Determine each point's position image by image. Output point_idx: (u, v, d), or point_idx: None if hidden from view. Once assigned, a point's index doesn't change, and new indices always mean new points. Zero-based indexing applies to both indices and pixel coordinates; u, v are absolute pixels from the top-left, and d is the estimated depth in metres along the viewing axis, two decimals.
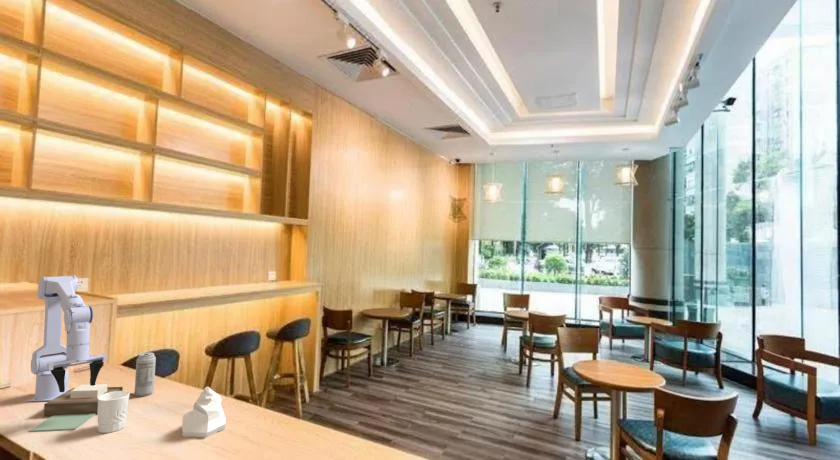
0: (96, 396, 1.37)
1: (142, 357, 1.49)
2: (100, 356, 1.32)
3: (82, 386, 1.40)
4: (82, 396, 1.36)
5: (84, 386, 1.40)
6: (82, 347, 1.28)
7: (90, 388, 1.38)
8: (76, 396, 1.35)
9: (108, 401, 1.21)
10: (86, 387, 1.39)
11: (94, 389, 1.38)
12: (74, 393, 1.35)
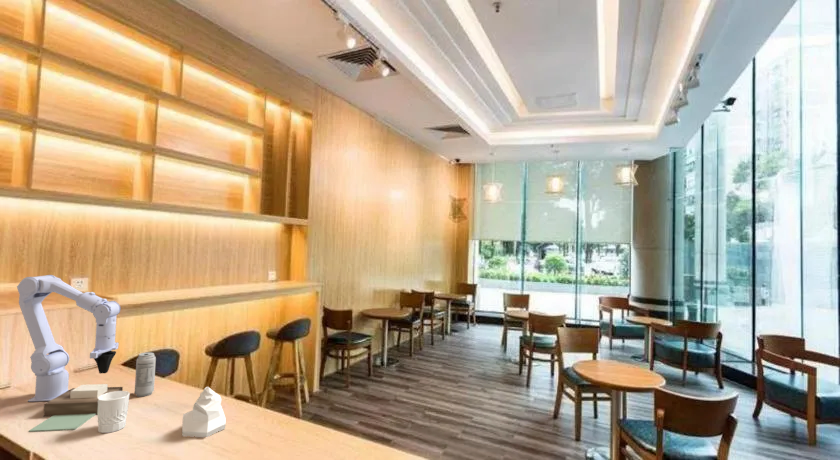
0: (96, 396, 1.37)
1: (142, 357, 1.49)
2: (116, 344, 1.53)
3: (82, 386, 1.40)
4: (82, 396, 1.36)
5: (84, 386, 1.40)
6: (114, 337, 1.48)
7: (90, 388, 1.38)
8: (76, 396, 1.35)
9: (108, 401, 1.21)
10: (86, 387, 1.39)
11: (94, 389, 1.38)
12: (74, 393, 1.35)
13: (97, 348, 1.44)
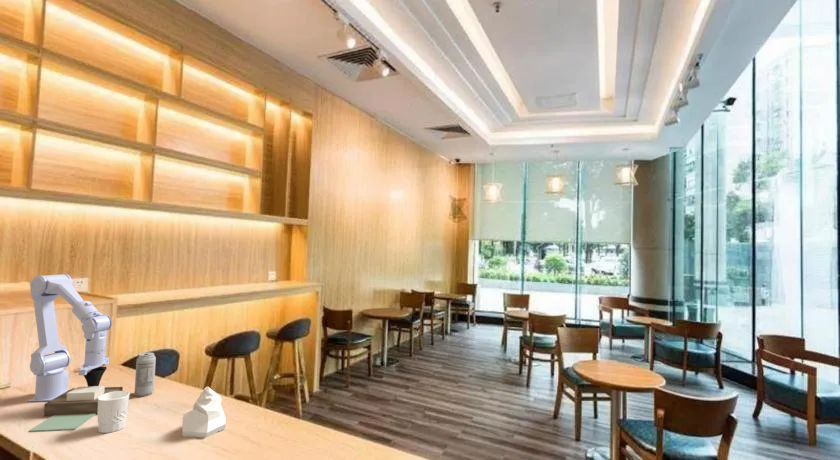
0: (93, 398, 1.35)
1: (142, 357, 1.49)
2: (107, 359, 1.47)
3: (78, 388, 1.38)
4: (79, 398, 1.34)
5: (81, 388, 1.38)
6: (105, 352, 1.42)
7: (87, 390, 1.36)
8: (72, 398, 1.34)
9: (108, 401, 1.21)
10: (83, 389, 1.37)
11: (91, 391, 1.36)
12: (70, 395, 1.33)
13: (86, 364, 1.38)
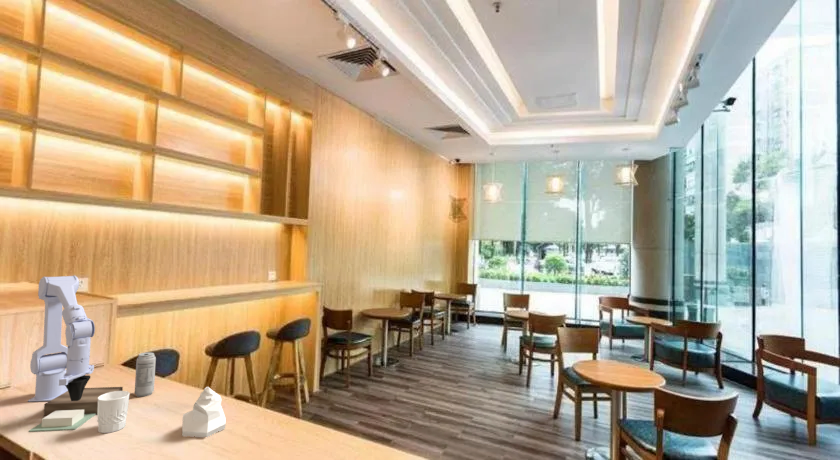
0: None
1: (142, 357, 1.49)
2: (91, 367, 1.38)
3: None
4: None
5: None
6: (88, 360, 1.33)
7: None
8: None
9: (108, 401, 1.21)
10: None
11: None
12: None
13: (68, 373, 1.29)
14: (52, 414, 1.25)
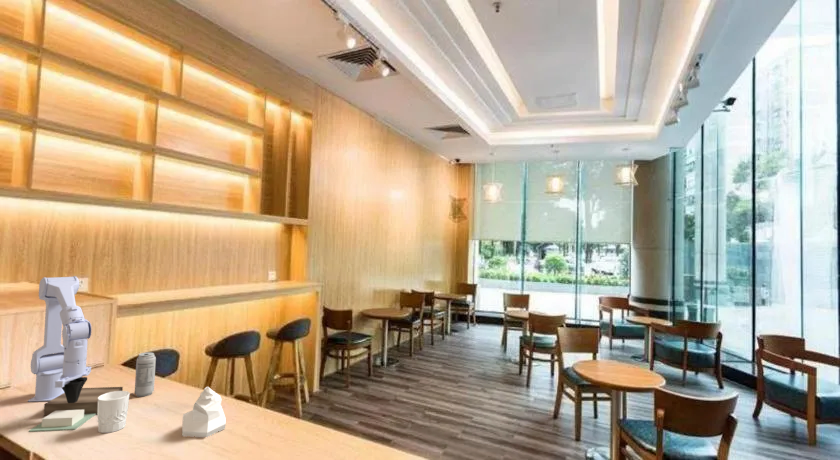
0: None
1: (142, 357, 1.49)
2: (88, 369, 1.36)
3: None
4: None
5: None
6: (85, 362, 1.31)
7: None
8: None
9: (108, 401, 1.21)
10: None
11: None
12: None
13: (65, 375, 1.27)
14: (52, 414, 1.25)
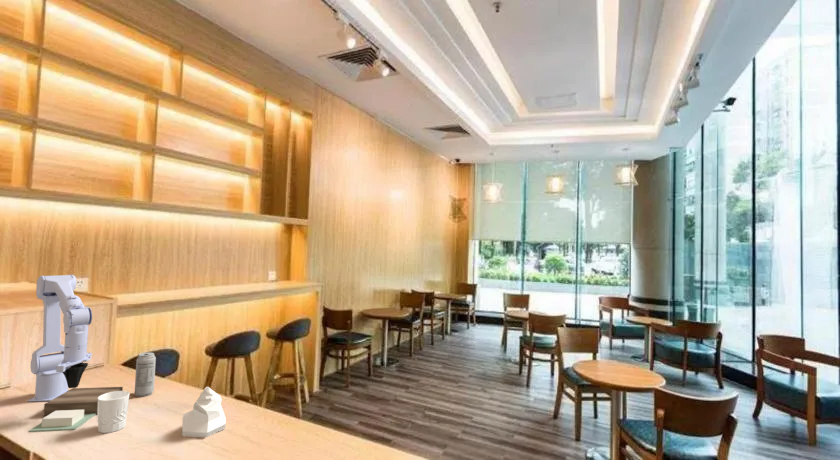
0: None
1: (142, 357, 1.49)
2: (89, 355, 1.37)
3: None
4: None
5: None
6: (86, 347, 1.33)
7: None
8: None
9: (108, 401, 1.21)
10: None
11: None
12: None
13: (66, 360, 1.29)
14: (52, 414, 1.25)
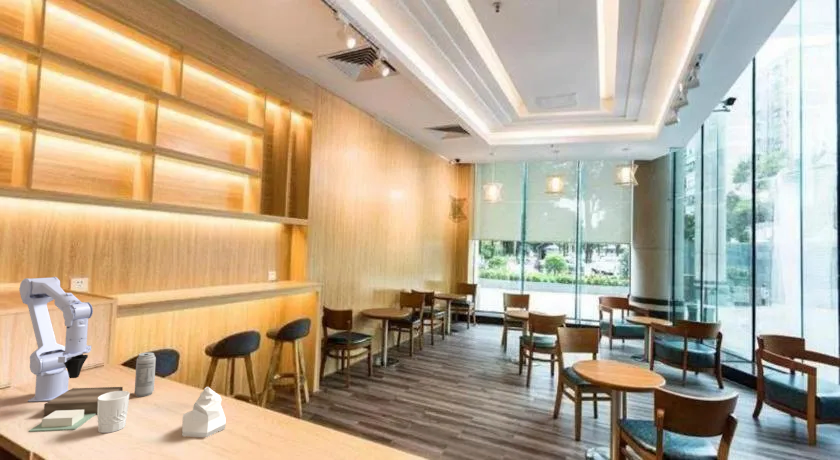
0: None
1: (142, 357, 1.49)
2: (89, 347, 1.46)
3: None
4: None
5: None
6: (86, 340, 1.41)
7: None
8: None
9: (108, 401, 1.21)
10: None
11: None
12: None
13: (67, 352, 1.37)
14: (52, 414, 1.25)
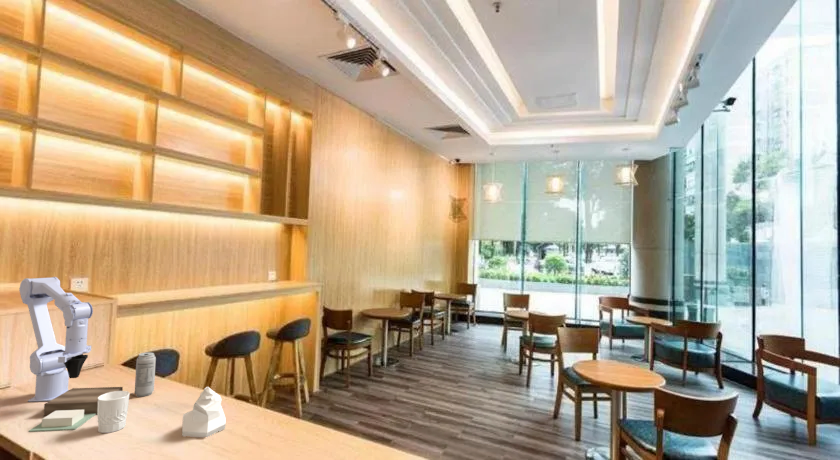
0: None
1: (142, 357, 1.49)
2: (89, 347, 1.46)
3: None
4: None
5: None
6: (86, 340, 1.41)
7: None
8: None
9: (108, 401, 1.21)
10: None
11: None
12: None
13: (67, 352, 1.37)
14: (52, 414, 1.25)
